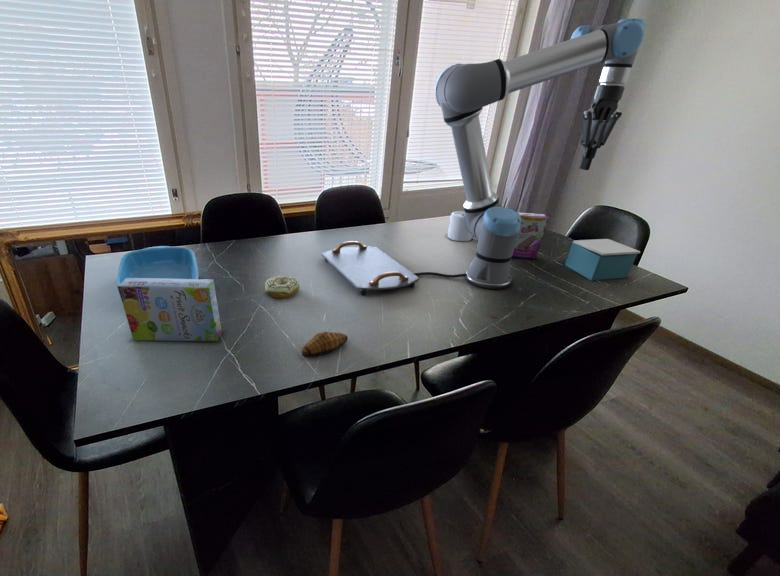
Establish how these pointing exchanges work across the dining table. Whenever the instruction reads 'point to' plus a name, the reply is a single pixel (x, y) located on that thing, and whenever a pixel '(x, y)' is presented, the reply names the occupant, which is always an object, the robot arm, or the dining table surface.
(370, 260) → the serving tray
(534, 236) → the candy bar box
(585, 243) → the lid
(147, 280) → the snack box
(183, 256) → the casserole dish
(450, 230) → the toilet tissue
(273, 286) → the decorated donut
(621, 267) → the tote
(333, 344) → the croissant
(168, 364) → the dining table surface
